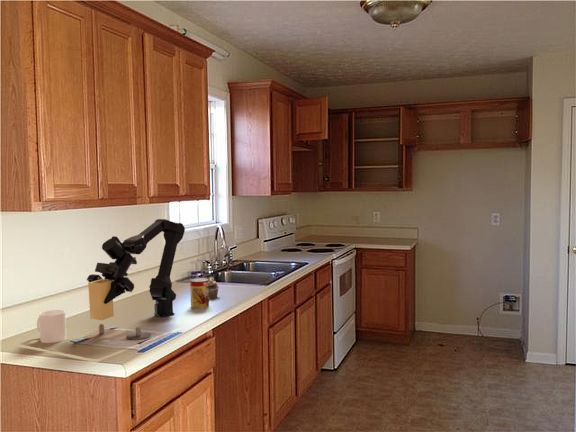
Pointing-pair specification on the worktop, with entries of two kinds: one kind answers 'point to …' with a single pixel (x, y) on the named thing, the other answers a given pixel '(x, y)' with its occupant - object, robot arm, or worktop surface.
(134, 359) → the worktop surface
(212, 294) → the cupcake
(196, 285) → the canned food
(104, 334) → the board
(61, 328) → the mug
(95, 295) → the sleeve
